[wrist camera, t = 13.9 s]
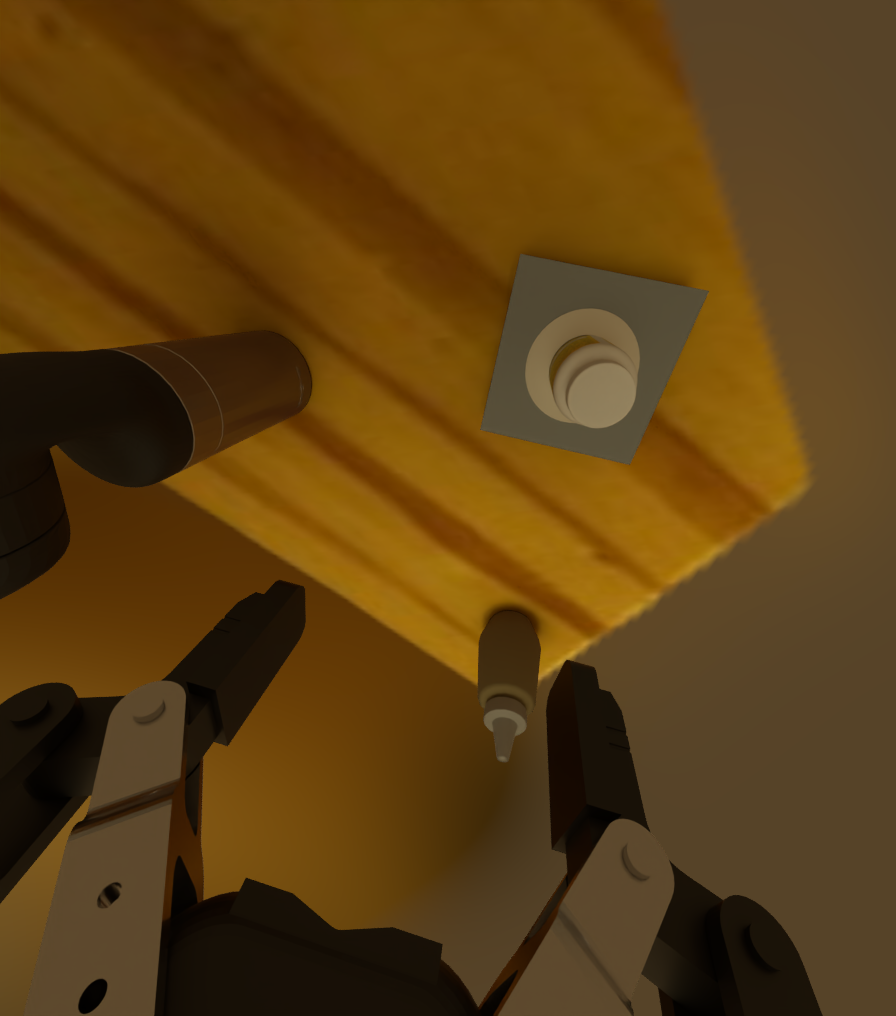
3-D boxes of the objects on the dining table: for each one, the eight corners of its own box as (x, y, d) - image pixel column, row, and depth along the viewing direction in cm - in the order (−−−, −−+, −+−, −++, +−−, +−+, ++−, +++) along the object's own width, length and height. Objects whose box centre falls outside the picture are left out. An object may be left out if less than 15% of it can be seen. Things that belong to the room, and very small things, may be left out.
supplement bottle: (539, 394, 33) (542, 426, 25) (561, 326, 30) (574, 337, 22) (600, 410, 33) (625, 448, 24) (628, 343, 30) (667, 360, 22)
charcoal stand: (485, 415, 40) (480, 430, 36) (521, 259, 33) (520, 253, 29) (618, 446, 39) (630, 465, 35) (684, 292, 32) (710, 290, 28)
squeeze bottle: (510, 654, 56) (502, 789, 41) (470, 621, 55) (446, 749, 39) (552, 629, 52) (562, 768, 37) (511, 593, 51) (502, 723, 35)
